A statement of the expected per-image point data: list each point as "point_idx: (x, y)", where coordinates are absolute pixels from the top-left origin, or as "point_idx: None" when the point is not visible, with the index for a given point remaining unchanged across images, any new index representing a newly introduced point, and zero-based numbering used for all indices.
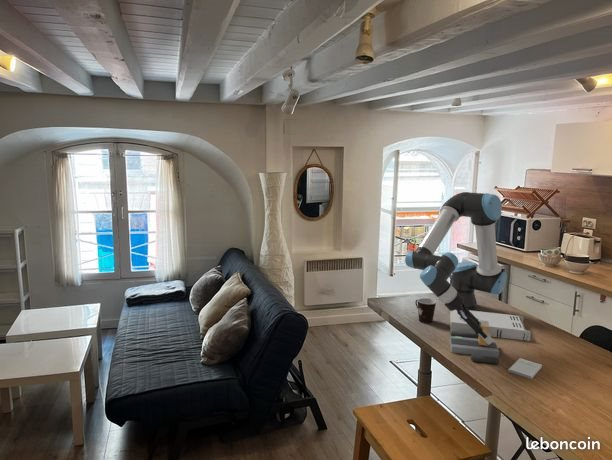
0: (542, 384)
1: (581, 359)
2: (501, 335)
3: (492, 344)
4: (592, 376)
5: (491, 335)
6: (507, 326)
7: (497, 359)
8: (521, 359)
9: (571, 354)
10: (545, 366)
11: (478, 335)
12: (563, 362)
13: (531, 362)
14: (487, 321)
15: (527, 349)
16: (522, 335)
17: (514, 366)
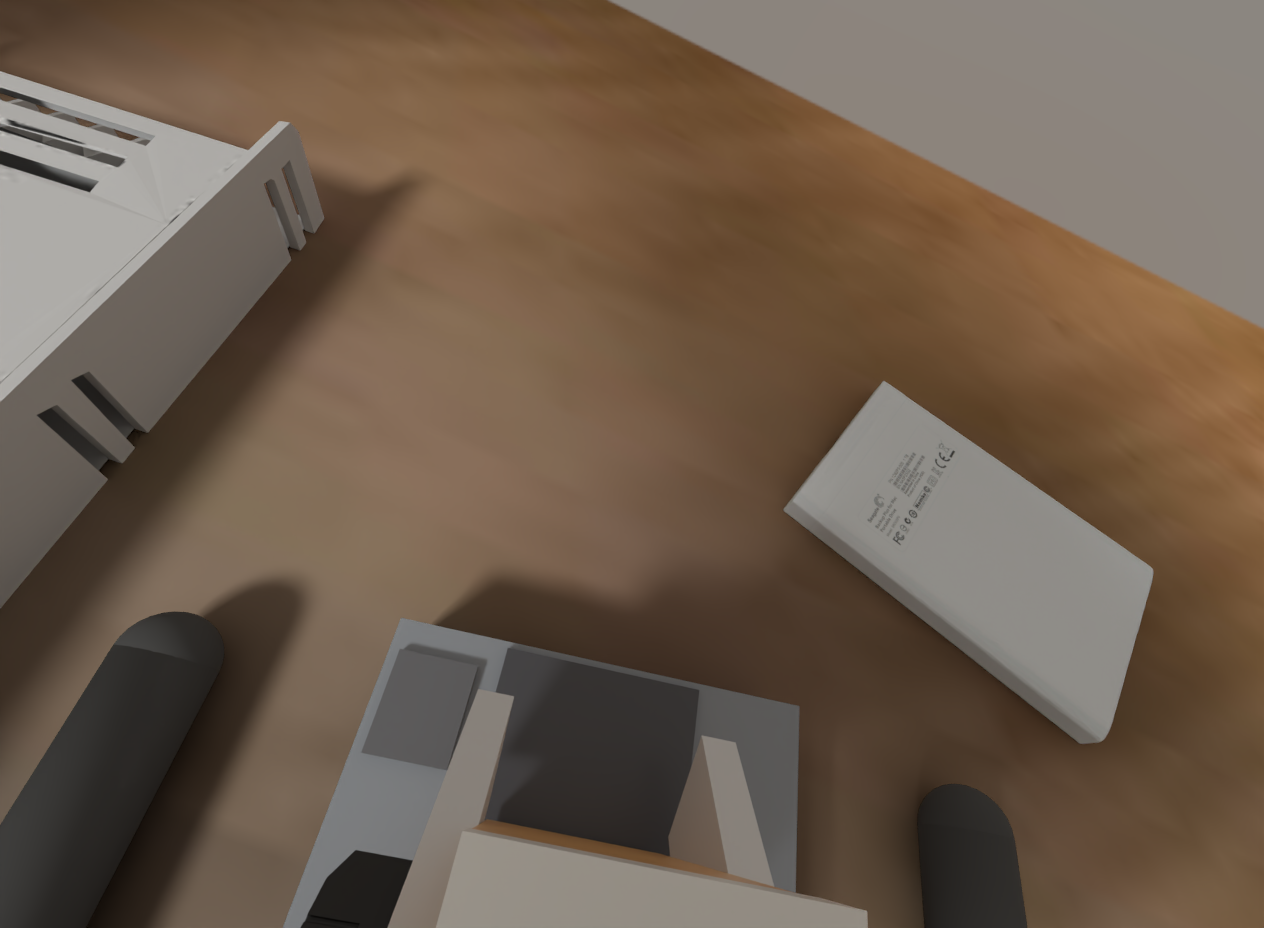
0: (1179, 529)
1: (681, 115)
2: (135, 414)
3: (574, 721)
4: (908, 191)
5: (496, 701)
6: (38, 250)
7: (1007, 821)
8: (825, 495)
9: (608, 118)
10: (850, 359)
11: (85, 835)
12: (748, 220)
13: (867, 436)
14: (530, 867)
15: (524, 327)
16: (270, 222)
17: (1020, 642)
